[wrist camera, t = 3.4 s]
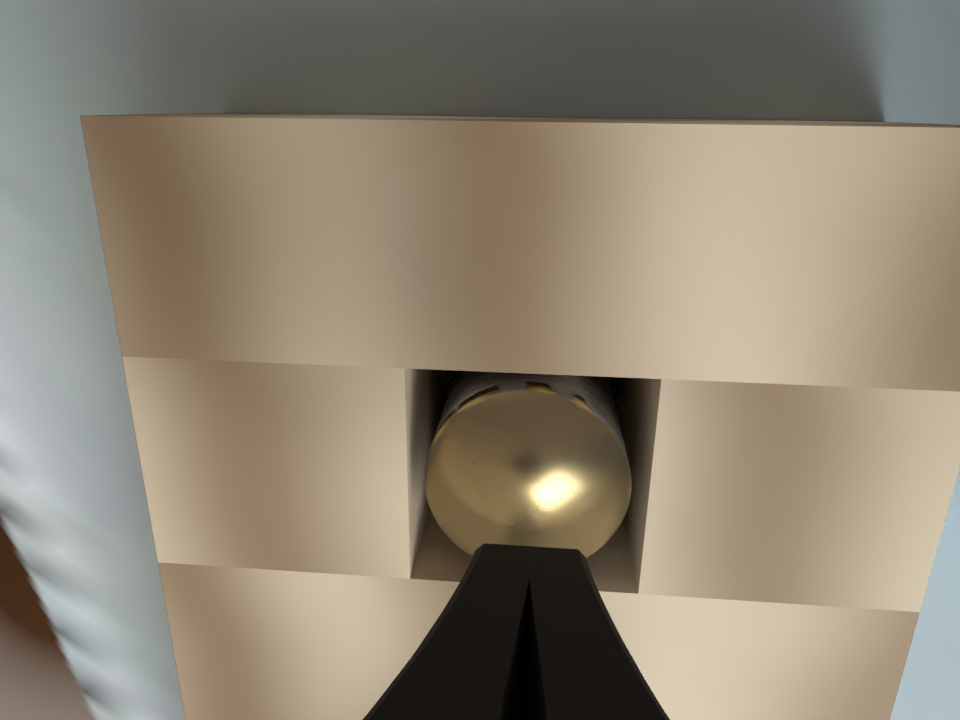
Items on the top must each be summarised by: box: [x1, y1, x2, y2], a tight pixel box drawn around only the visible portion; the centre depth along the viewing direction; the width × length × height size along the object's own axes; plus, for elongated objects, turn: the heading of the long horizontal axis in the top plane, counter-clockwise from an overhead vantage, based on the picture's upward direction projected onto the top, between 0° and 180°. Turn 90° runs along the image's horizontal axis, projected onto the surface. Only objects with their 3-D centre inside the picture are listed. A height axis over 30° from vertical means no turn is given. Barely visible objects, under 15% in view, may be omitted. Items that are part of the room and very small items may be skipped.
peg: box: [424, 371, 632, 558], centre depth 14 cm, size 4×4×4 cm
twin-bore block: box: [80, 113, 960, 720], centre depth 16 cm, size 14×21×5 cm, turn 179°
